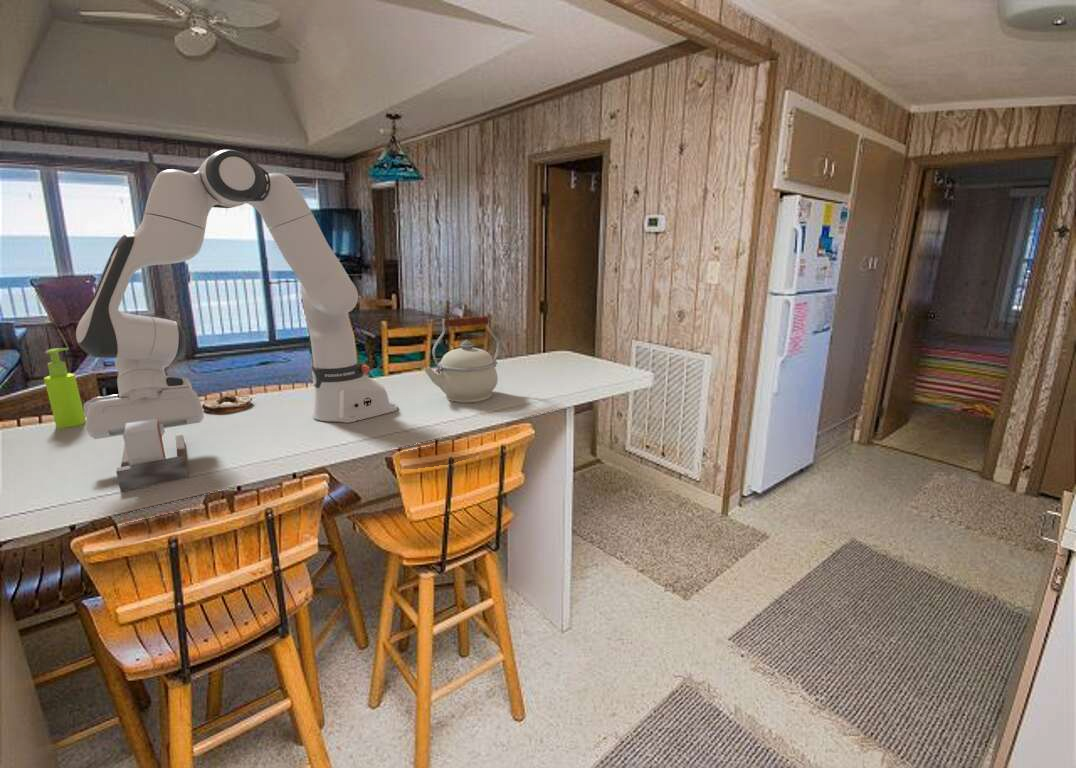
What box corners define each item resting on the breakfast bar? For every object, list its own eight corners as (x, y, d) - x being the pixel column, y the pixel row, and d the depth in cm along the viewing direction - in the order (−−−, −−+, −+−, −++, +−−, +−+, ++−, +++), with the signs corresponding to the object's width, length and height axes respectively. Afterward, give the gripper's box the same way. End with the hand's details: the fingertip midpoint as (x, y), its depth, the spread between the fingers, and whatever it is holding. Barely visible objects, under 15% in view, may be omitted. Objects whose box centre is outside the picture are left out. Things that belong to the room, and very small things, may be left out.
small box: (167, 477, 105) (157, 428, 102) (133, 484, 102) (122, 434, 99) (167, 464, 111) (158, 417, 108) (135, 470, 108) (125, 422, 105)
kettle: (486, 385, 175) (484, 311, 168) (513, 398, 160) (512, 318, 153) (415, 396, 162) (410, 316, 155) (437, 411, 147) (432, 324, 140)
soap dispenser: (93, 418, 140) (76, 346, 135) (76, 427, 133) (57, 351, 128) (69, 420, 139) (51, 346, 134) (50, 428, 132) (30, 352, 127)
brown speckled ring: (187, 411, 148) (184, 397, 147) (238, 398, 160) (237, 385, 159) (216, 420, 140) (214, 405, 139) (268, 406, 153) (266, 392, 152)
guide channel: (184, 442, 123) (181, 426, 122) (189, 476, 105) (185, 458, 104) (126, 452, 117) (122, 436, 116) (120, 490, 99) (116, 471, 98)
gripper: (79, 391, 106) (84, 450, 101) (196, 377, 118) (206, 430, 113) (86, 406, 111) (91, 463, 106) (198, 391, 122) (208, 443, 117)
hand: (151, 446), depth 109 cm, fingers closed, pressing on small box
